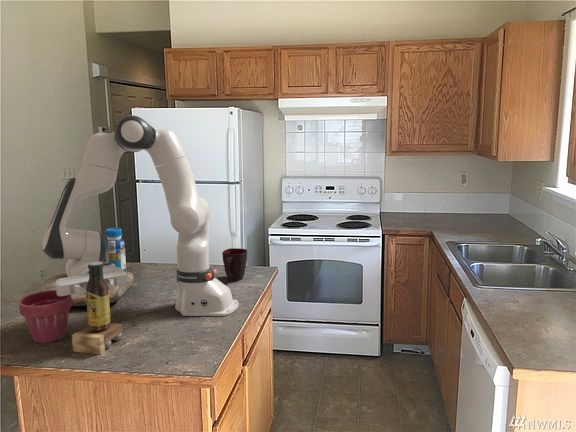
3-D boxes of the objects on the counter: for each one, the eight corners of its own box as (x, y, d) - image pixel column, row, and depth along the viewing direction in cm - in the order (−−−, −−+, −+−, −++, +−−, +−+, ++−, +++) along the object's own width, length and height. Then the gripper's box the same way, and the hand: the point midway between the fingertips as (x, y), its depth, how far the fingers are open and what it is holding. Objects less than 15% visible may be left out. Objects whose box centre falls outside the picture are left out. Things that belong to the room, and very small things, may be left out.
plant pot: (27, 351, 140) (22, 309, 138) (19, 335, 151) (15, 295, 149) (79, 338, 148) (76, 298, 146) (69, 324, 159) (65, 286, 157)
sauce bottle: (85, 327, 144) (79, 262, 141) (105, 322, 148) (100, 258, 145) (94, 333, 139) (88, 266, 136) (115, 327, 144) (109, 262, 141)
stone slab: (136, 283, 201) (135, 269, 200) (126, 308, 173) (124, 291, 172) (56, 288, 196) (55, 274, 195) (33, 315, 168) (31, 298, 167)
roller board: (123, 337, 148) (122, 322, 147) (100, 354, 137) (99, 337, 137) (97, 335, 150) (96, 320, 149) (73, 351, 140) (71, 335, 139)
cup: (250, 276, 209) (250, 249, 207) (239, 286, 196) (238, 257, 194) (229, 274, 212) (228, 247, 210) (216, 284, 199) (215, 255, 196)
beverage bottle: (103, 273, 214) (99, 229, 211) (120, 269, 220) (117, 226, 217) (113, 277, 209) (109, 232, 205) (130, 273, 215) (127, 228, 212)
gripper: (49, 273, 146) (57, 285, 135) (119, 262, 158) (131, 273, 146) (51, 293, 148) (59, 307, 136) (120, 281, 159) (133, 293, 147)
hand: (97, 289), depth 141 cm, fingers closed on sauce bottle, 6 cm apart
